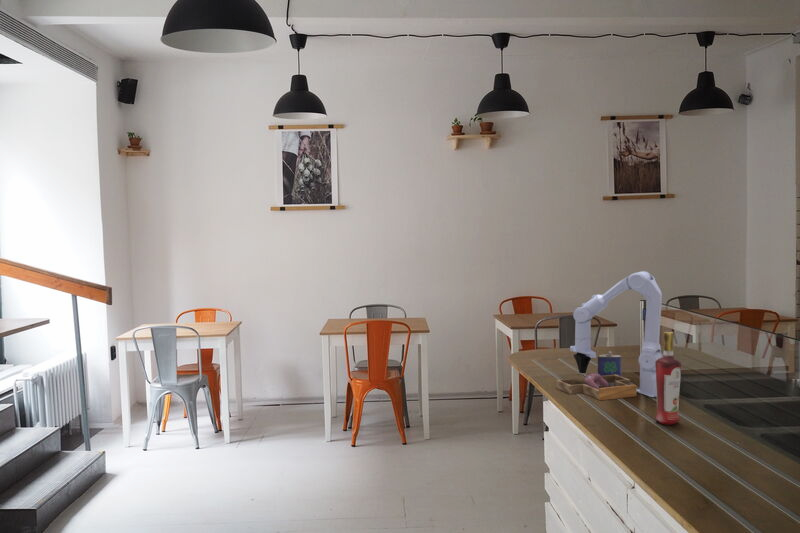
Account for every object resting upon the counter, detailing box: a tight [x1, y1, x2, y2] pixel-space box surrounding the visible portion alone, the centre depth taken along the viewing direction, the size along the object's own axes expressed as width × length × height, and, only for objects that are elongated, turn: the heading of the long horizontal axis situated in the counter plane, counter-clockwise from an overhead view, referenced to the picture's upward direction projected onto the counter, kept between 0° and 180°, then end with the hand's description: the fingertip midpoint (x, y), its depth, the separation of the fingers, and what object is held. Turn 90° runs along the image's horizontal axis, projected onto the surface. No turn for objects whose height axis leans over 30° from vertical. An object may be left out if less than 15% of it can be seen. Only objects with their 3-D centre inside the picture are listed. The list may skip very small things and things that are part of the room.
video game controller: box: [584, 372, 609, 390], centre depth 234 cm, size 10×5×7 cm, turn 141°
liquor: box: [655, 331, 682, 426], centre depth 193 cm, size 7×7×28 cm
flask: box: [597, 351, 622, 377], centre depth 250 cm, size 9×3×11 cm, turn 88°
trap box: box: [555, 374, 638, 401], centre depth 230 cm, size 20×26×4 cm
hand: (582, 372), depth 242 cm, fingers closed
